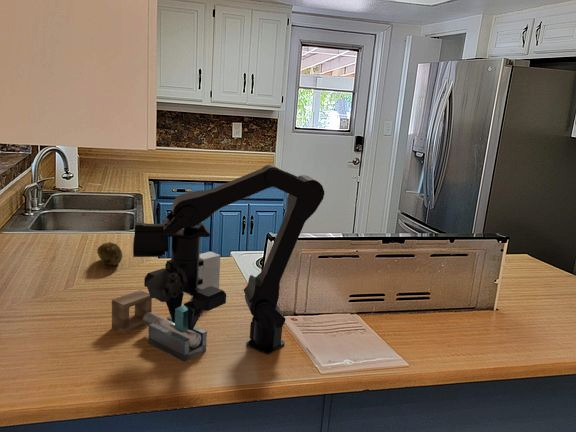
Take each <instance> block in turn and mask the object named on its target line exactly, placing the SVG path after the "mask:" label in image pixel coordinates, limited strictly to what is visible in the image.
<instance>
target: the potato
mask: <svg viewBox="0 0 576 432" xmlns="http://www.w3.org/2000/svg"><path fill="white" fill-rule="evenodd" d="M96 251H97V252H96V253H97V256H98V258H100V260H101V261H102V262H103V264H105V265H110V266H111V265H112V266H116V265H118V264H120V263H121V261H122V259H123V251H122V249H121V247H120V246H119V245H118V244H117V243H113V242H108V241H107V242H105V243H102V244H101V245H99V246H98V247H97V249H96Z"/></svg>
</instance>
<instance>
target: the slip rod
mask: <svg viewBox="0 0 576 432" xmlns="http://www.w3.org/2000/svg"><path fill="white" fill-rule="evenodd" d="M152 323H154V324H156V325H158V326H161V327H163V328H165V329H167V330H169V331H171V332H174V333H176V334H178V335H180V336H182V337H184V338H186V339H189V346H190V347H193V348H196V347H197V346H198V345H199V344H200V342H201V335H200V334H198V333H196V332H194V331H191V330H189V329H188V309H187V308H186V307H185V306H184V304H182V305H181V307H178V308H176V309H175V323H173V322H171V321H169V320H167V318H164V317H162V316H160V315H158V314H156V313H153V312H152V311H151V312H148V313H146V314H145V316H144V317H143V324H144V325H143V326H147V328H149V325H150V324H152Z"/></svg>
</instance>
